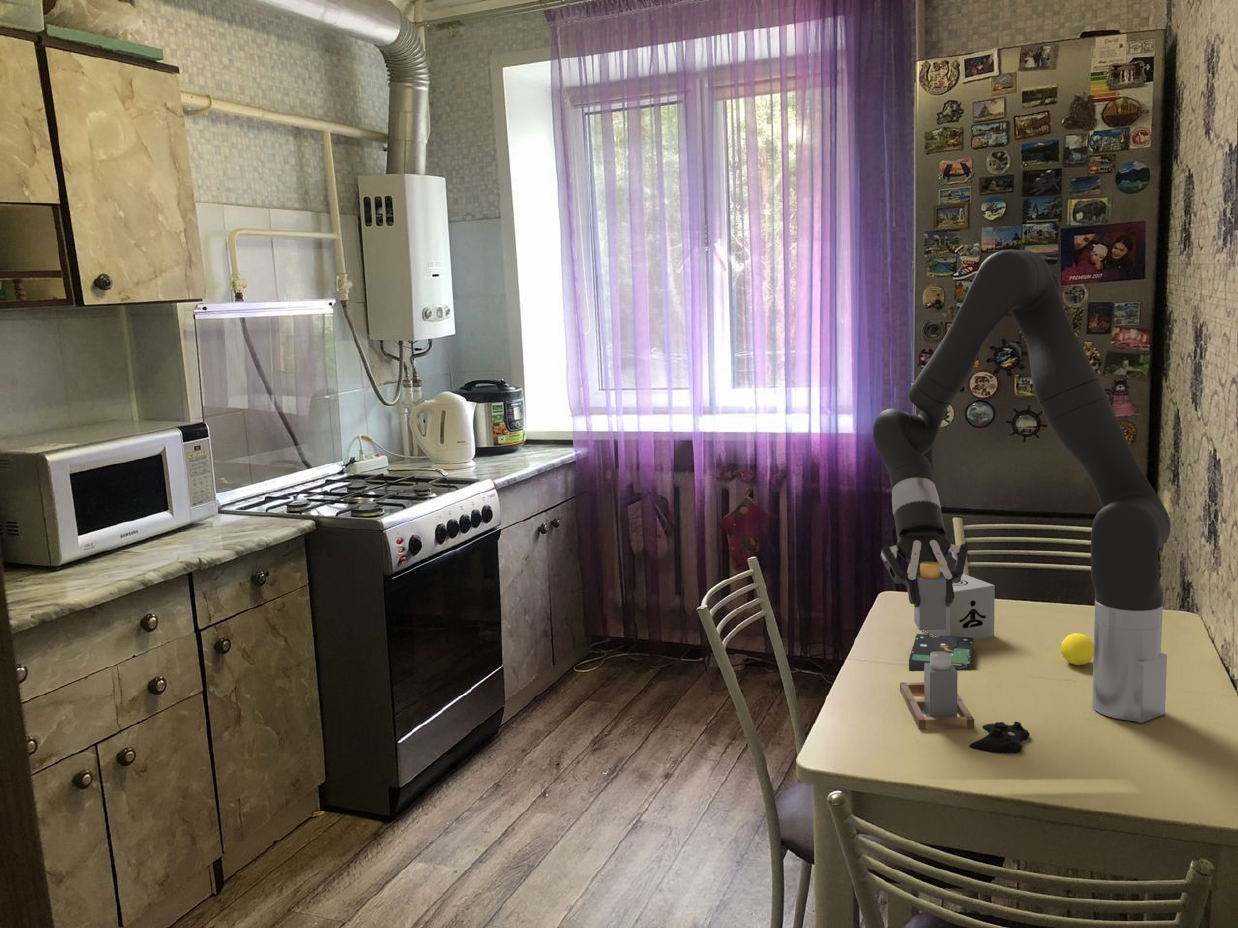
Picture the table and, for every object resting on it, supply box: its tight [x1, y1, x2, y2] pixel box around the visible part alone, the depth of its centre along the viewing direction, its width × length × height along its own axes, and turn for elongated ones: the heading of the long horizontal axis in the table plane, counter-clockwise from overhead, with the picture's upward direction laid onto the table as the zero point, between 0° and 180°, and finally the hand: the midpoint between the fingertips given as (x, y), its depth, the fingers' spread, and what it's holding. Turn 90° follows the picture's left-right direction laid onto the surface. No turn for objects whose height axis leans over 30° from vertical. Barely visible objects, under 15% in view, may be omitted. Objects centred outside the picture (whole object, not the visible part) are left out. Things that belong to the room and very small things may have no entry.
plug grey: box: [923, 651, 958, 717], centre depth 153 cm, size 4×4×10 cm
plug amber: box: [913, 562, 946, 631], centre depth 158 cm, size 4×4×10 cm
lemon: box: [1060, 632, 1094, 666], centre depth 177 cm, size 7×5×5 cm
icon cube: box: [923, 573, 996, 640], centre depth 195 cm, size 10×10×10 cm
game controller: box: [968, 721, 1030, 755], centre depth 145 cm, size 10×5×7 cm
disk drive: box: [908, 633, 975, 672], centre depth 182 cm, size 10×3×15 cm
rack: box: [899, 681, 975, 730], centre depth 157 cm, size 8×15×3 cm, turn 175°
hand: (932, 604), depth 156 cm, fingers closed on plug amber, 4 cm apart
